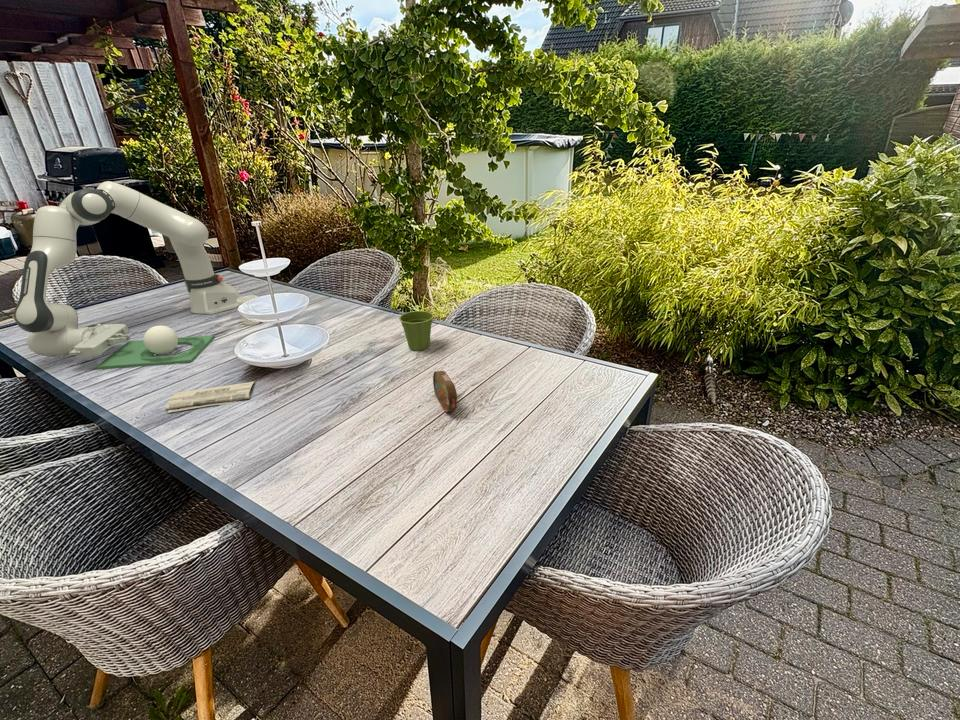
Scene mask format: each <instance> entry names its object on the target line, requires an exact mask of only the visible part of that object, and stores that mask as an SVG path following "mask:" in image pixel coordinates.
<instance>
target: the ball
mask: <svg viewBox="0 0 960 720" xmlns="http://www.w3.org/2000/svg"><path fill="white" fill-rule="evenodd" d="M178 338H179V337H178V335H177V333H176V331H175V330H174V329H172V328H170V327H169V326H165V325H155V326H152V327H150V328H148V329H147V331H145V333H144V335H143V339H142V340H143V341H144V345H145V347H146V348H147V349H148V350H149V351H151V352H153V353H155V355H167V354H170V353H172V352H173V351H174V350H175V349H176V348H177V346H178V345H177V344H178Z"/></svg>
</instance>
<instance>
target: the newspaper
mask: <svg viewBox="0 0 960 720" xmlns="http://www.w3.org/2000/svg"><path fill="white" fill-rule="evenodd" d="M255 383H256V381H248V382H241V383H234V384H226V385H221V386H220V385H218V386H213V387H205V388H198V389H197V388H196V389H191V390H185V391H176V392H175V393H174V394H173V395H172V397H171V398H170V399H168V402H167V403H166V404H165V408H164V409H165V410H166V411H167V414H169V413H174V412H180V411H186V410H192V409H199V408H204V407H210V406H221V405H229V404H233V403H237V402H241V401H242V400H248V399H250V396H251V394H252V393H251V388H252V386H253V384H255ZM198 405H199V406H198ZM178 408H179V409H178Z"/></svg>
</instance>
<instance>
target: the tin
mask: <svg viewBox="0 0 960 720" xmlns="http://www.w3.org/2000/svg"><path fill="white" fill-rule="evenodd" d="M432 384H433V392H434V395H435V398H436V399H437V401H438V402H439V404H440V406H441V408H442V409H443V411H444V412H445V413H449V412H454V411H456V410H457V406H458V405H457V404H458V403H457V402H458V394H457V390H456V389H457V388H456V385H455V383H454V382H453V381H452V379H451V378H450V376H449V375H448V374H447V372H446V371H445V370H438V371H437V370H435V371H434V372H433V374H432Z"/></svg>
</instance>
